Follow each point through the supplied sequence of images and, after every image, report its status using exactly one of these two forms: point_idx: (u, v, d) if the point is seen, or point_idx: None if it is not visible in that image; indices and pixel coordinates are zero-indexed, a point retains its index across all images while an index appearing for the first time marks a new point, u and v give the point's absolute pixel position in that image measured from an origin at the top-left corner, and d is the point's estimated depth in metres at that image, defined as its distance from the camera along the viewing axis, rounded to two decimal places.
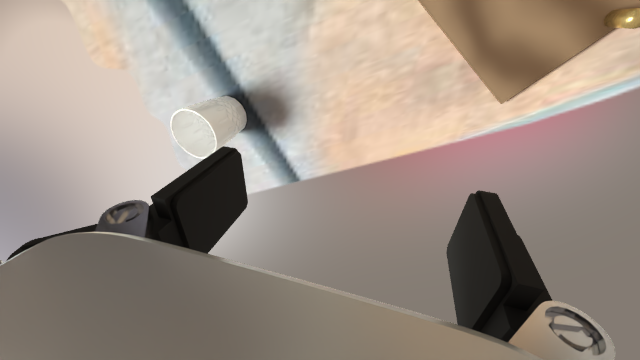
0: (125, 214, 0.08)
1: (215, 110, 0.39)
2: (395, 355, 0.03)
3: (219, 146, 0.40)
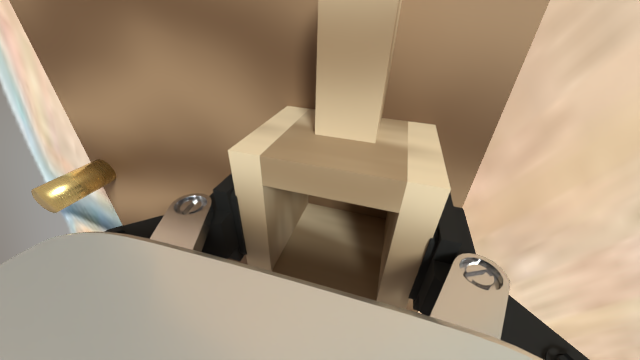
0: (191, 205, 0.08)
1: None
2: (395, 355, 0.03)
3: None
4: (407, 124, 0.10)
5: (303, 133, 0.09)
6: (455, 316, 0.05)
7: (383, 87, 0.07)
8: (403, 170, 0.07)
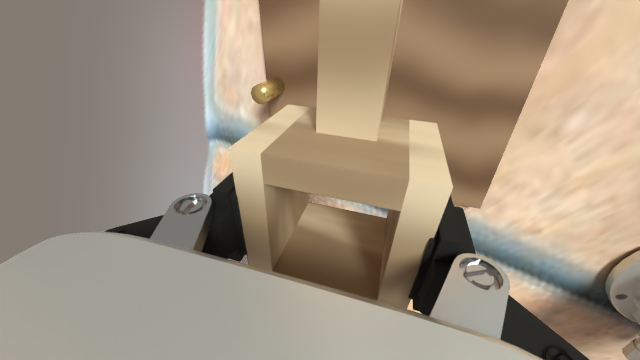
0: (191, 205, 0.08)
1: None
2: (395, 355, 0.03)
3: None
4: (408, 122, 0.10)
5: (304, 131, 0.09)
6: (455, 316, 0.05)
7: (385, 85, 0.07)
8: (405, 168, 0.07)
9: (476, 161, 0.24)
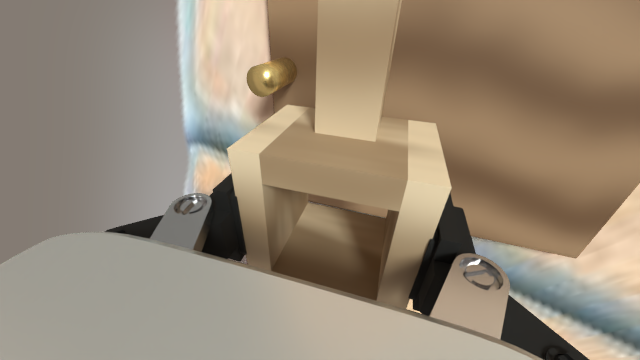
0: (191, 205, 0.08)
1: None
2: (395, 355, 0.03)
3: None
4: (407, 123, 0.10)
5: (303, 131, 0.09)
6: (455, 316, 0.05)
7: (383, 85, 0.07)
8: (403, 168, 0.07)
9: (588, 194, 0.15)
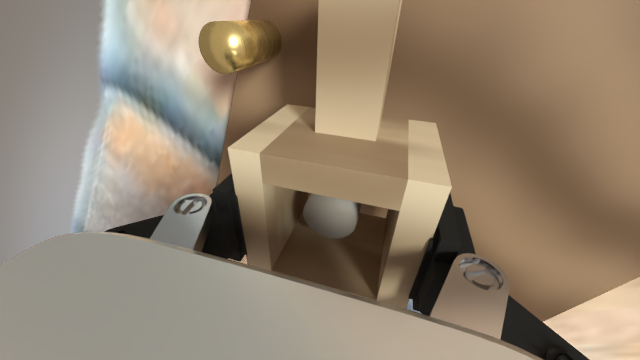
0: (191, 205, 0.08)
1: None
2: (395, 355, 0.03)
3: None
4: (408, 122, 0.10)
5: (303, 131, 0.09)
6: (455, 316, 0.05)
7: (384, 84, 0.07)
8: (404, 168, 0.07)
9: (545, 292, 0.15)
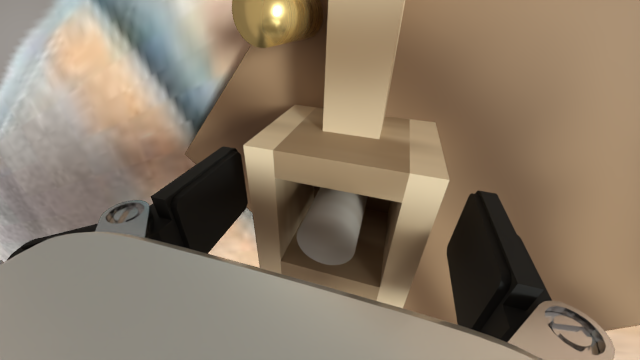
0: (126, 214, 0.08)
1: None
2: (395, 355, 0.03)
3: None
4: (409, 122, 0.10)
5: (312, 130, 0.09)
6: None
7: (387, 87, 0.08)
8: (406, 163, 0.07)
9: None
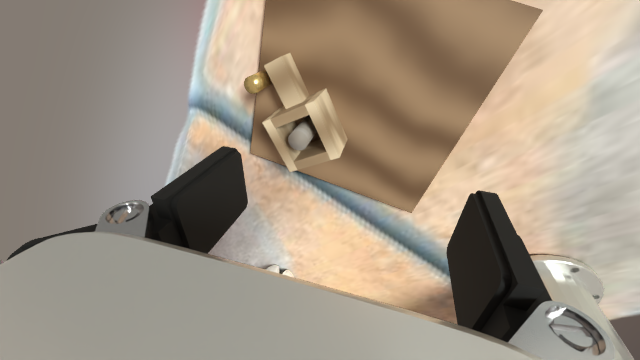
0: (125, 214, 0.08)
1: None
2: (395, 355, 0.03)
3: None
4: (316, 92, 0.27)
5: (282, 110, 0.27)
6: None
7: (294, 85, 0.25)
8: (305, 103, 0.24)
9: (415, 177, 0.30)
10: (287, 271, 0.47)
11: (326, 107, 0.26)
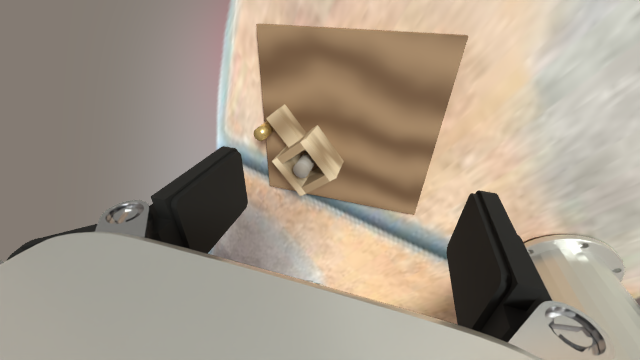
0: (125, 214, 0.08)
1: None
2: (395, 355, 0.03)
3: None
4: None
5: (286, 148, 0.34)
6: None
7: (291, 128, 0.32)
8: (301, 141, 0.31)
9: (408, 183, 0.34)
10: None
11: (318, 140, 0.32)
